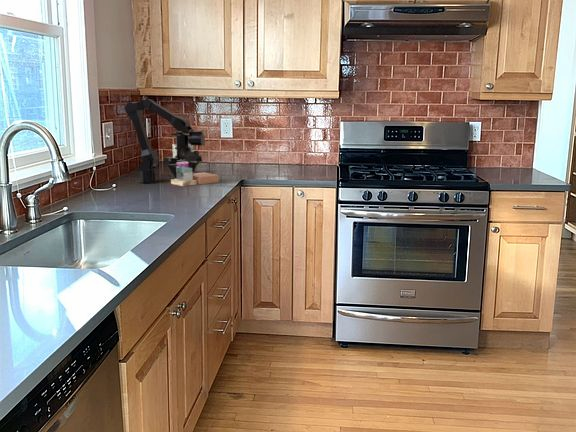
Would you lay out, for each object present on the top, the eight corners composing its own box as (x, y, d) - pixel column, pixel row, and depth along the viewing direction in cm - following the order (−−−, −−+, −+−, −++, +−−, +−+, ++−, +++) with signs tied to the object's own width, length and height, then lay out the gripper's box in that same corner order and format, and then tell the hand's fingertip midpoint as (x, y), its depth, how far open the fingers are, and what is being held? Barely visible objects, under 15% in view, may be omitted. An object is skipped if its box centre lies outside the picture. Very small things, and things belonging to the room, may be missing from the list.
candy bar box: (195, 175, 304) (194, 144, 300) (189, 176, 300) (188, 145, 296) (178, 173, 309) (177, 143, 305) (172, 174, 305) (171, 144, 301)
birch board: (182, 186, 269) (182, 182, 269) (171, 183, 276) (170, 179, 276) (196, 184, 275) (196, 180, 274) (184, 181, 282) (184, 177, 281)
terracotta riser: (200, 184, 275) (200, 177, 274) (186, 181, 283) (186, 174, 283) (218, 181, 282) (218, 175, 282) (204, 179, 291) (204, 172, 290)
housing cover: (183, 173, 270) (183, 167, 269) (174, 171, 275) (174, 165, 275) (192, 172, 273) (192, 166, 272) (183, 170, 279) (182, 164, 278)
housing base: (183, 181, 270) (183, 173, 270) (174, 179, 276) (174, 171, 275) (192, 180, 274) (192, 172, 273) (183, 178, 279) (183, 170, 279)
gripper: (175, 147, 259) (176, 181, 263) (208, 145, 272) (209, 177, 275) (162, 145, 267) (163, 178, 270) (195, 143, 280) (195, 174, 283)
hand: (183, 177), depth 275 cm, fingers open, 9 cm apart
